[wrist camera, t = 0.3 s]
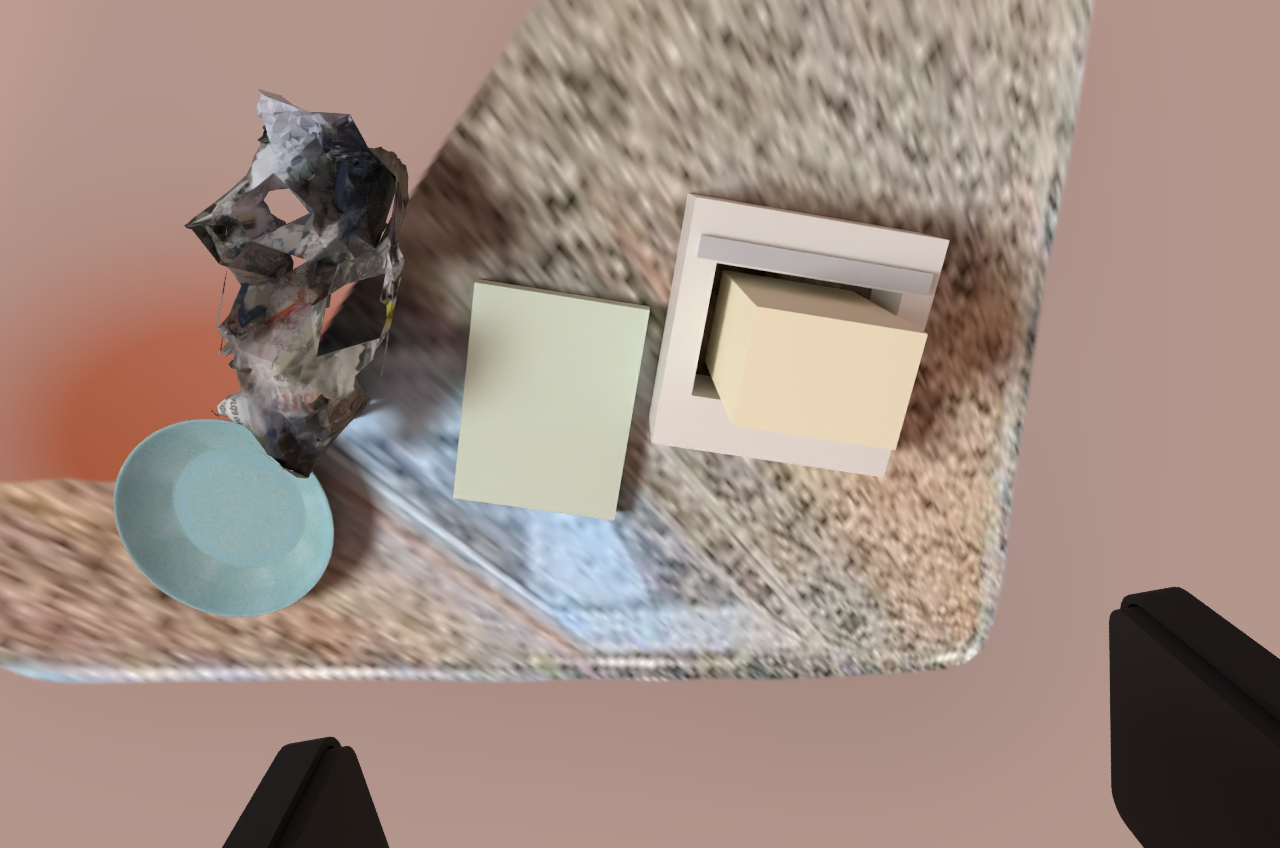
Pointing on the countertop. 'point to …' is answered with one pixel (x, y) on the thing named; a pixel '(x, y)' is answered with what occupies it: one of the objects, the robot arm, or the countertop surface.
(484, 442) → the pad
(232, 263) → the foil
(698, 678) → the countertop surface
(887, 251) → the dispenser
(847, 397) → the cream rectangular block
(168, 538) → the saucer
